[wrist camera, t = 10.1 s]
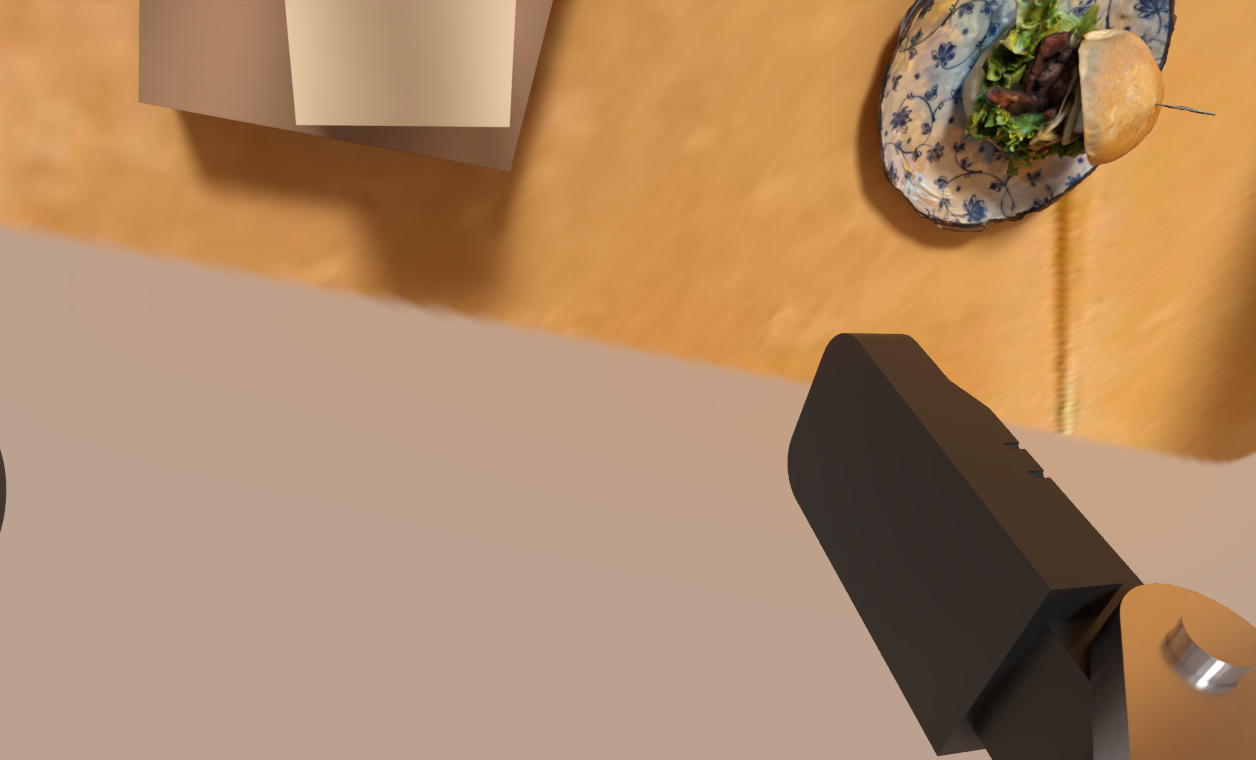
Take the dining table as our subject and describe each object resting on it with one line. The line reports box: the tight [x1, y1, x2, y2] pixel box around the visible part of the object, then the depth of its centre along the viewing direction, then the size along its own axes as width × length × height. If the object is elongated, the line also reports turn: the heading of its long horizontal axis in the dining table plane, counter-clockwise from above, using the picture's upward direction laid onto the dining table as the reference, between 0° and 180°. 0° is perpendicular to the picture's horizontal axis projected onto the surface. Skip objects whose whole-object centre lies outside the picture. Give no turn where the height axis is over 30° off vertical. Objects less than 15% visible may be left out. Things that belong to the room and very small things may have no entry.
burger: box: [877, 0, 1215, 232], centre depth 31 cm, size 12×12×8 cm
